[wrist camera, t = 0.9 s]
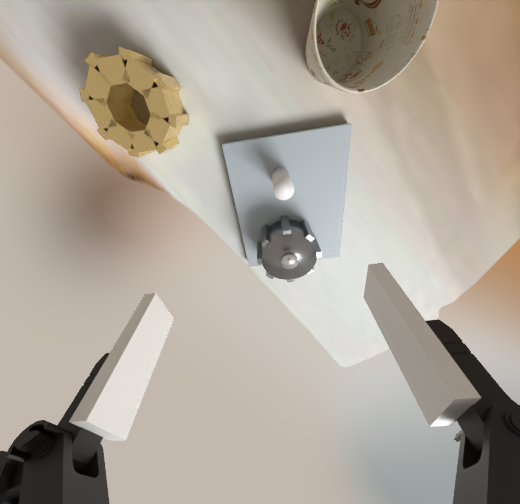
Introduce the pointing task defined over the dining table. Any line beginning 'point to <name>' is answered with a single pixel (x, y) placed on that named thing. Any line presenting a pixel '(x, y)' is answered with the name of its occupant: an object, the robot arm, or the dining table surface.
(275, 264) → the gear
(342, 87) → the mug
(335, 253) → the gear board
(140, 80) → the gear
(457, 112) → the dining table surface
